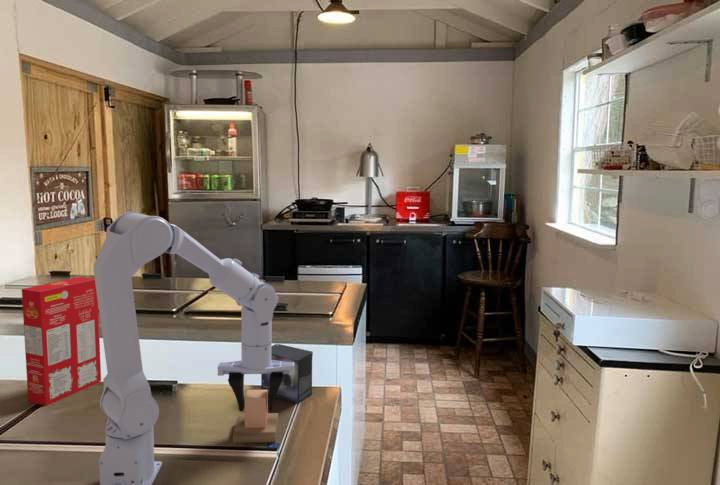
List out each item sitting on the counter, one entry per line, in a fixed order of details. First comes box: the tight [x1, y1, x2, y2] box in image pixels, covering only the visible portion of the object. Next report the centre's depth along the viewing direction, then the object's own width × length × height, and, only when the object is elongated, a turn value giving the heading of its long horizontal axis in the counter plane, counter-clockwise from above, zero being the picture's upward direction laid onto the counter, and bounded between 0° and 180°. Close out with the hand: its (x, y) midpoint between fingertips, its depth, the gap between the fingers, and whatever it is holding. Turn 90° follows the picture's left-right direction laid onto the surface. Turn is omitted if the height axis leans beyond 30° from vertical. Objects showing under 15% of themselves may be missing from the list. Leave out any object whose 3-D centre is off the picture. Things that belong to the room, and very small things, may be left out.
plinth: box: [232, 412, 279, 444], centre depth 105 cm, size 8×8×2 cm
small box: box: [260, 343, 314, 404], centre depth 123 cm, size 11×6×10 cm, turn 62°
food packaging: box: [21, 276, 102, 407], centre depth 120 cm, size 15×5×25 cm, turn 160°
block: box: [244, 389, 269, 428], centre depth 104 cm, size 4×4×6 cm
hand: (256, 409), depth 104 cm, fingers open, 5 cm apart
